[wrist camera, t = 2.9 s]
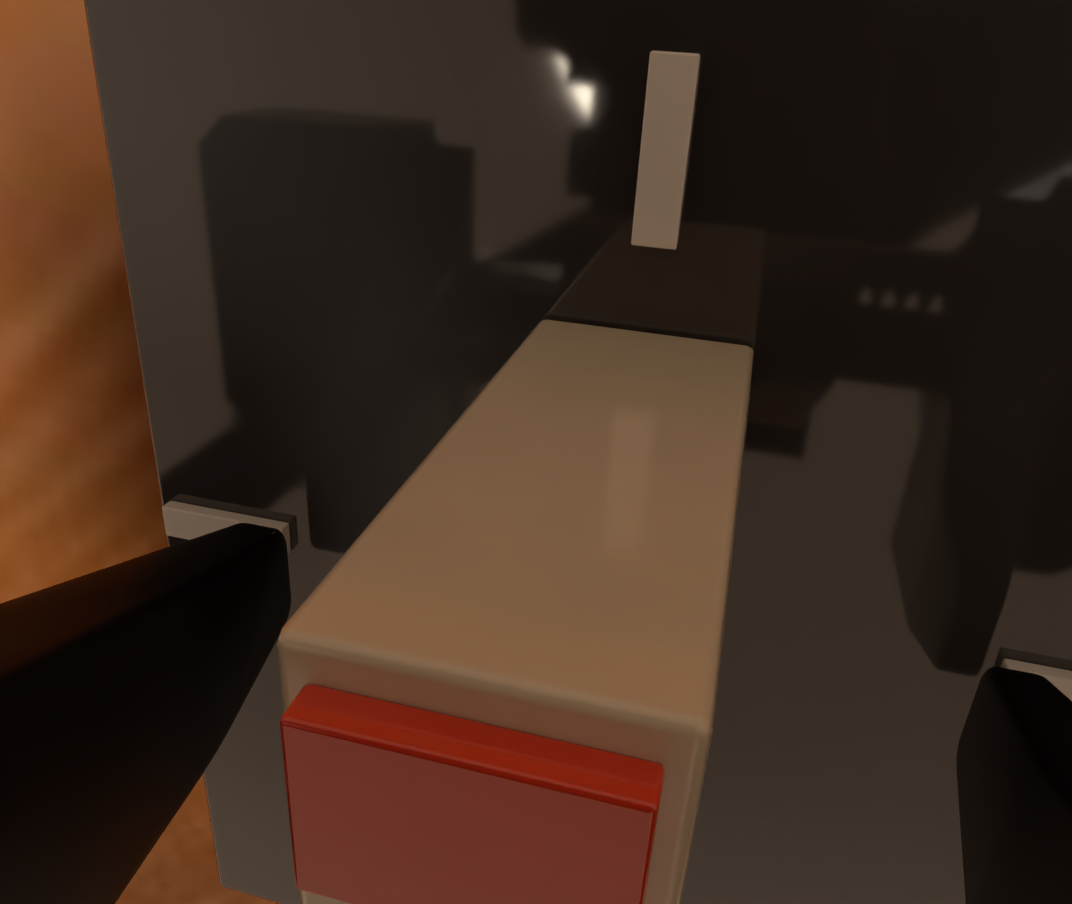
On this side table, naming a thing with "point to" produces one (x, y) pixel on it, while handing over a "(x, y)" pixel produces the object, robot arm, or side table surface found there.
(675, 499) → the knob
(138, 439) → the side table surface
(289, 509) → the panel
